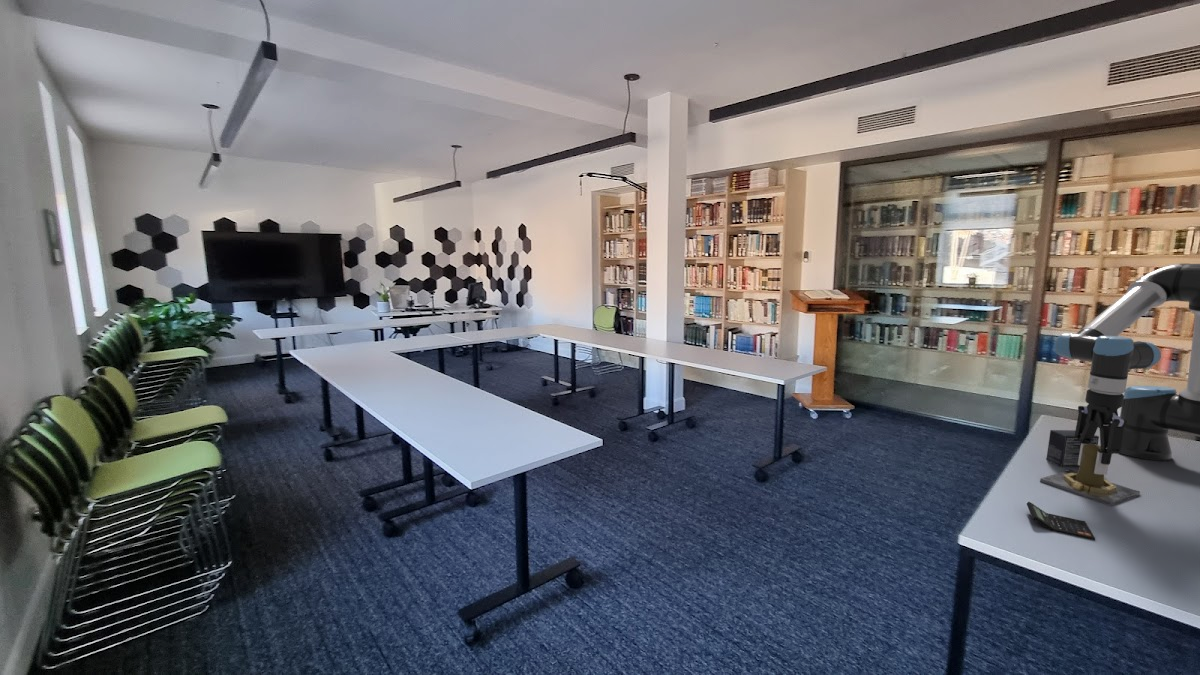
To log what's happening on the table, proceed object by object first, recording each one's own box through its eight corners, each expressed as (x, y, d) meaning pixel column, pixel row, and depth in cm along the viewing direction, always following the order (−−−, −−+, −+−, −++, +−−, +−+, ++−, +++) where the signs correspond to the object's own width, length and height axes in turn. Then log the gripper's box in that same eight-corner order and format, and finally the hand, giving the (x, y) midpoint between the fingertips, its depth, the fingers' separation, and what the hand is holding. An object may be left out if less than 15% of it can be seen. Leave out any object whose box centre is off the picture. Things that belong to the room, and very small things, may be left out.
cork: (1104, 488, 144) (1111, 451, 142) (1075, 482, 148) (1081, 445, 146) (1103, 481, 148) (1109, 445, 147) (1075, 475, 152) (1081, 440, 151)
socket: (1069, 472, 159) (1070, 466, 159) (1139, 494, 145) (1140, 487, 144) (1040, 481, 153) (1041, 474, 152) (1110, 505, 138) (1111, 498, 138)
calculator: (1094, 541, 121) (1096, 529, 121) (1031, 527, 127) (1033, 516, 127) (1084, 524, 129) (1086, 513, 129) (1025, 511, 135) (1026, 501, 135)
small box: (1077, 459, 169) (1082, 429, 168) (1095, 468, 163) (1101, 436, 161) (1044, 459, 170) (1049, 428, 168) (1061, 467, 163) (1066, 435, 161)
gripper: (1065, 382, 153) (1054, 456, 157) (1118, 399, 135) (1103, 482, 139) (1093, 383, 152) (1081, 457, 156) (1150, 401, 134) (1134, 484, 138)
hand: (1091, 469), depth 148 cm, fingers closed on cork, 5 cm apart
